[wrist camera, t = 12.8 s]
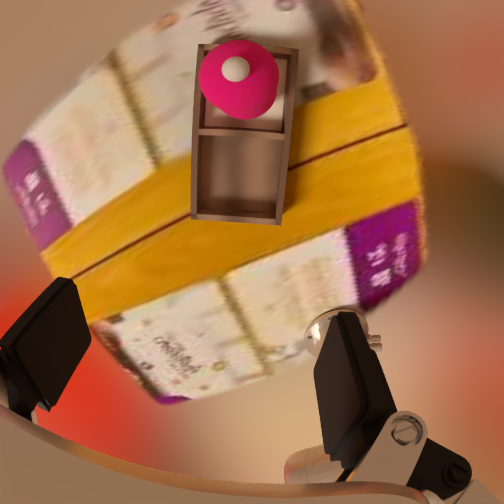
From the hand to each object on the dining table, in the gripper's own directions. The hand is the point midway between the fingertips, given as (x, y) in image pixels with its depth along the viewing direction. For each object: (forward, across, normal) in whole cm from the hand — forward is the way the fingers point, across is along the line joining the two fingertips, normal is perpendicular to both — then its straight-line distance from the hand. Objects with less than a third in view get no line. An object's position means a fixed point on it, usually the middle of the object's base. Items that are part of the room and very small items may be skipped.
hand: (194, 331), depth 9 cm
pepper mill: (+31, +1, -11) cm, 33 cm away
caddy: (+32, +1, -5) cm, 32 cm away
